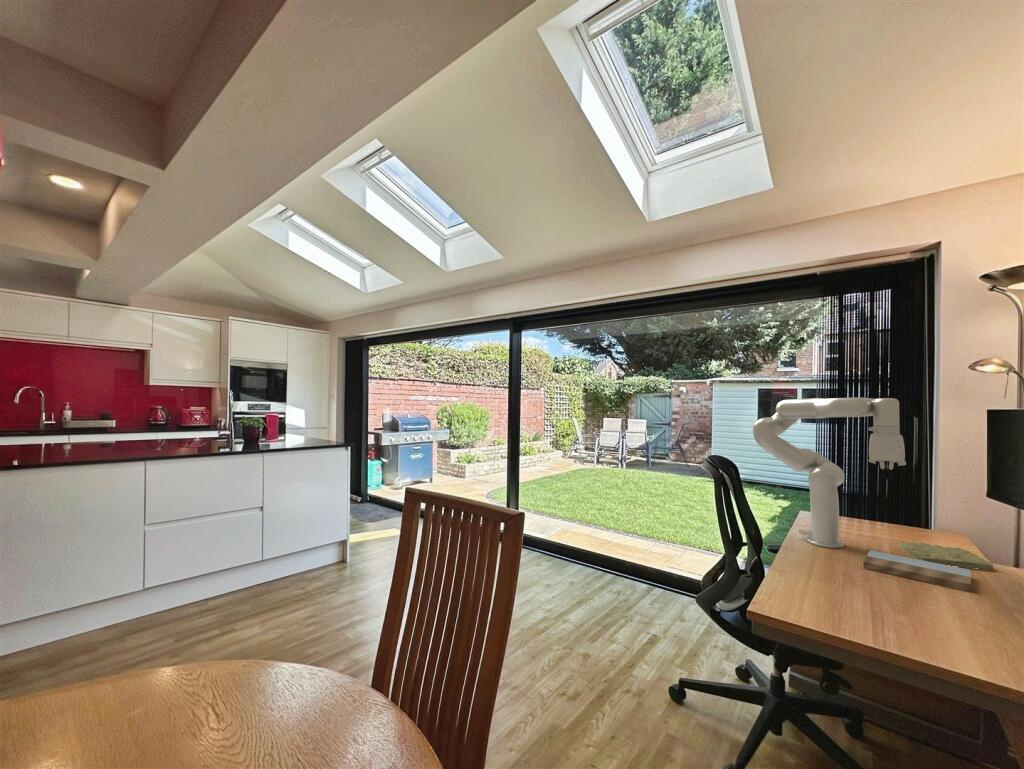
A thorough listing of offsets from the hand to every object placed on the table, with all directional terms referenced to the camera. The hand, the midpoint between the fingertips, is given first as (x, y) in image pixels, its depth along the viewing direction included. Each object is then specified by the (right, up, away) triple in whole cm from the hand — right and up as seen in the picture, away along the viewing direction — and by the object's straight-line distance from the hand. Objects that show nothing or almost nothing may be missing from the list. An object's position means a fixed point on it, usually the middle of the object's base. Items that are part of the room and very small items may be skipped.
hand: (887, 479), depth 164 cm
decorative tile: (+20, -30, -1) cm, 36 cm away
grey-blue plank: (0, -28, -12) cm, 31 cm away
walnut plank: (-6, -29, -18) cm, 34 cm away
